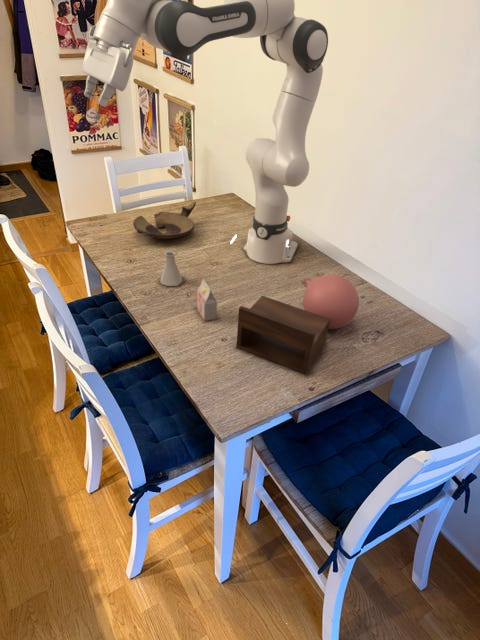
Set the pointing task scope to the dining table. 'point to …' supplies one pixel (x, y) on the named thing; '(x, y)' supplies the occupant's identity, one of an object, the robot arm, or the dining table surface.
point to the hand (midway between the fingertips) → (94, 101)
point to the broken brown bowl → (167, 223)
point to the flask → (171, 271)
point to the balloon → (331, 298)
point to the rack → (282, 333)
